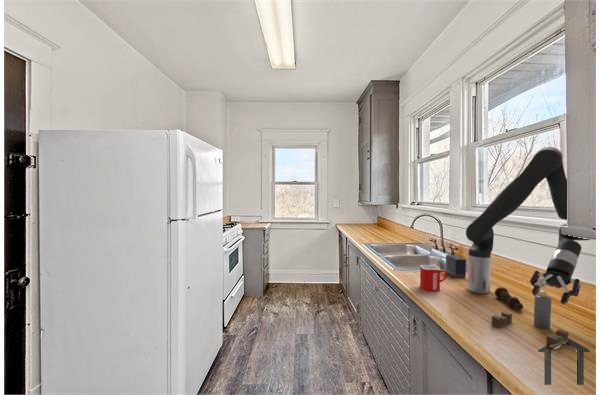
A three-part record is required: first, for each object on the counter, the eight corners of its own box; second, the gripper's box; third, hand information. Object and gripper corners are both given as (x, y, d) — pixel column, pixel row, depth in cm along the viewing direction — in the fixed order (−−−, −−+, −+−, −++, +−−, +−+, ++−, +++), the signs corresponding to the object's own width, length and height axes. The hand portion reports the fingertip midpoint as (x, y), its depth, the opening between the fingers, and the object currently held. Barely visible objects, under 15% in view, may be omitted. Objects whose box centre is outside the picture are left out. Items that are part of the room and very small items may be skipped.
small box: (466, 278, 170) (467, 259, 170) (455, 278, 170) (455, 259, 169) (455, 272, 181) (456, 254, 180) (444, 272, 180) (445, 254, 180)
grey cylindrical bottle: (537, 322, 117) (538, 288, 116) (552, 327, 112) (554, 292, 112) (531, 325, 114) (532, 290, 114) (546, 330, 110) (548, 294, 109)
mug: (423, 291, 150) (423, 269, 150) (418, 285, 158) (419, 264, 158) (449, 291, 149) (449, 270, 148) (443, 286, 157) (443, 265, 157)
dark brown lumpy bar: (517, 315, 127) (498, 300, 142) (529, 310, 126) (509, 295, 141) (509, 303, 127) (492, 289, 142) (521, 298, 126) (502, 284, 141)
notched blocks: (504, 319, 119) (504, 310, 119) (568, 342, 102) (568, 332, 102) (491, 325, 114) (491, 316, 114) (555, 350, 97) (556, 339, 97)
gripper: (537, 254, 124) (522, 287, 119) (583, 262, 112) (569, 299, 107) (543, 265, 127) (529, 298, 122) (589, 274, 115) (575, 311, 110)
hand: (548, 299), depth 114 cm, fingers open, 8 cm apart
